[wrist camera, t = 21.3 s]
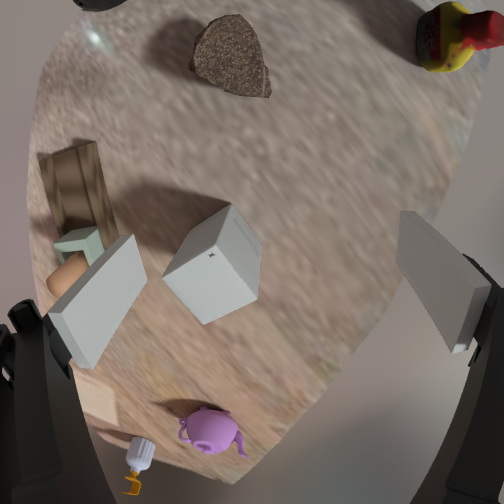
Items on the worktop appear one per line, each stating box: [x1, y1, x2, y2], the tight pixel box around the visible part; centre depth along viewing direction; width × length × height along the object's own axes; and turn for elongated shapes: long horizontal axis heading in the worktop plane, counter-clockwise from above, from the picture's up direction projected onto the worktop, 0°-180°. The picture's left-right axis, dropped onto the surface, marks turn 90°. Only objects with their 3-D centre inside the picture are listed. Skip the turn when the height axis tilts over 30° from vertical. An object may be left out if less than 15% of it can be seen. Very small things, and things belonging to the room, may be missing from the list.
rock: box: [189, 14, 272, 98], centre depth 32 cm, size 12×10×10 cm
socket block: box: [54, 226, 105, 267], centre depth 47 cm, size 9×8×6 cm
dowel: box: [46, 250, 89, 298], centre depth 43 cm, size 4×4×11 cm
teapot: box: [178, 406, 249, 458], centre depth 68 cm, size 20×14×12 cm
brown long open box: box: [39, 142, 119, 251], centre depth 45 cm, size 26×11×8 cm, turn 7°
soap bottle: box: [122, 437, 155, 495], centre depth 78 cm, size 9×9×25 cm
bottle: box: [416, 2, 504, 73], centre depth 22 cm, size 12×6×20 cm, turn 164°
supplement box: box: [161, 203, 262, 325], centre depth 42 cm, size 9×9×15 cm
